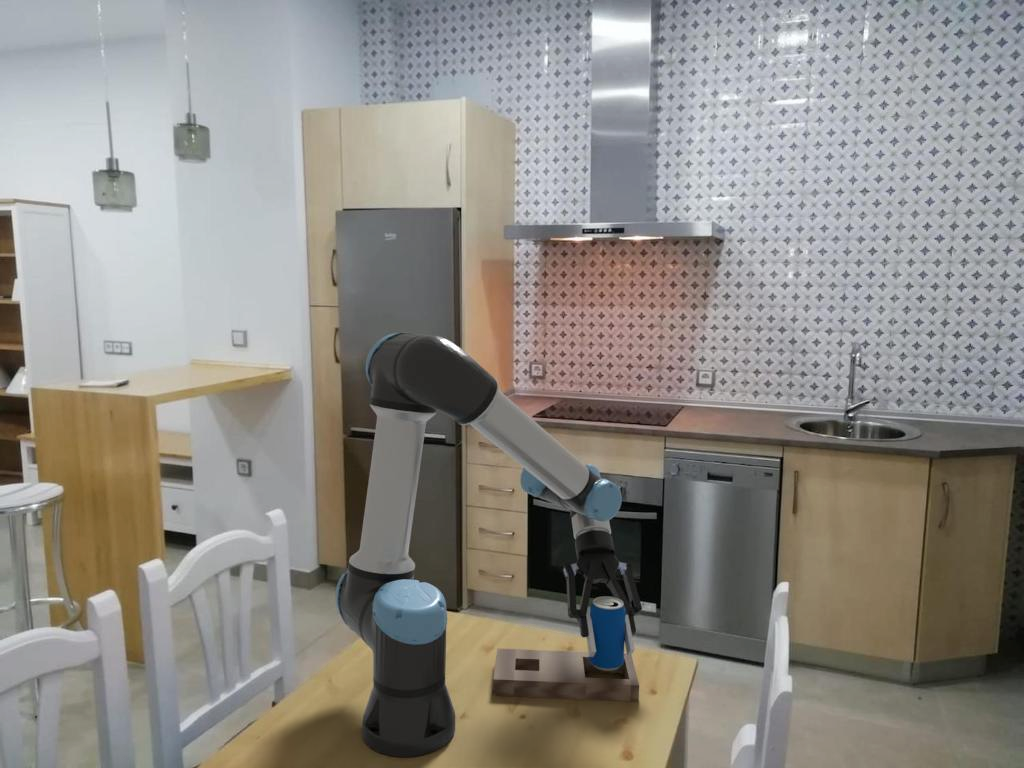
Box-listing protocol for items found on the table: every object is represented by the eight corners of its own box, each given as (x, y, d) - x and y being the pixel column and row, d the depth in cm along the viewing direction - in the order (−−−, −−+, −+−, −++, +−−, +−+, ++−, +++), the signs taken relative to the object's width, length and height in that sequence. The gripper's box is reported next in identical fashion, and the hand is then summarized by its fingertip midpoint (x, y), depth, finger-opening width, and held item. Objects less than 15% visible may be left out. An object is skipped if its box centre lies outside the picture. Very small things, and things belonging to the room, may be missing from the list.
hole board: (492, 695, 133) (493, 679, 133) (496, 663, 145) (497, 648, 145) (638, 701, 132) (639, 685, 132) (630, 668, 144) (631, 653, 144)
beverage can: (622, 674, 134) (625, 611, 133) (586, 670, 136) (588, 607, 134) (624, 658, 141) (626, 597, 139) (590, 654, 142) (592, 593, 141)
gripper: (635, 544, 153) (658, 657, 138) (542, 546, 150) (556, 662, 136) (644, 527, 147) (669, 643, 133) (548, 529, 144) (562, 648, 130)
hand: (611, 653), depth 134 cm, fingers closed on beverage can, 6 cm apart
